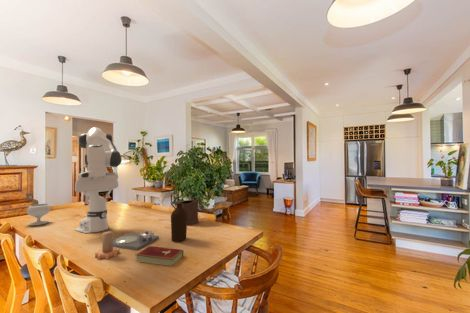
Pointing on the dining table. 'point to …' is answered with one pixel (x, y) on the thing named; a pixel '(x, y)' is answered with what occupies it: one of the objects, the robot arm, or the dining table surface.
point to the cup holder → (190, 210)
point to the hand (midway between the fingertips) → (98, 198)
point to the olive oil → (178, 223)
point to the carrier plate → (134, 240)
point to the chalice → (38, 212)
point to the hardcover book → (159, 255)
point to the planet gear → (107, 247)
